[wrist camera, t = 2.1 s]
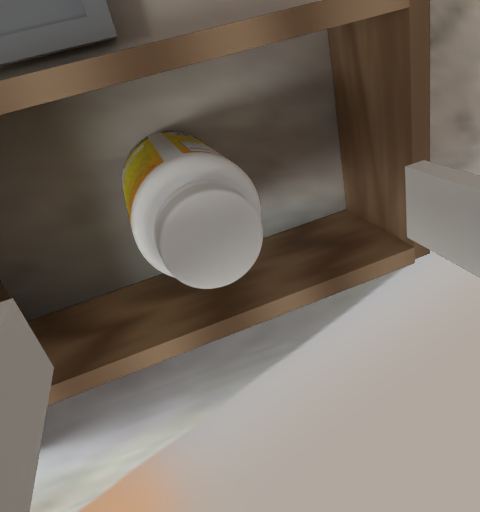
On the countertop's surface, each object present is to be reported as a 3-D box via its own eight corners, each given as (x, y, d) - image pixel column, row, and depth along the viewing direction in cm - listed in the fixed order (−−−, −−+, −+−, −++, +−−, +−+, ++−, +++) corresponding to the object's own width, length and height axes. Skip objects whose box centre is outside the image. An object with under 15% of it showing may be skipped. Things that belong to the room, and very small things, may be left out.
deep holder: (16, 340, 25) (-11, 428, 19) (-125, 116, 18) (-235, 139, 12) (360, 217, 29) (429, 257, 23) (341, -1, 23) (429, -27, 16)
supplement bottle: (138, 234, 24) (160, 328, 16) (107, 143, 22) (112, 192, 13) (225, 208, 26) (292, 282, 17) (205, 118, 23) (271, 148, 14)
